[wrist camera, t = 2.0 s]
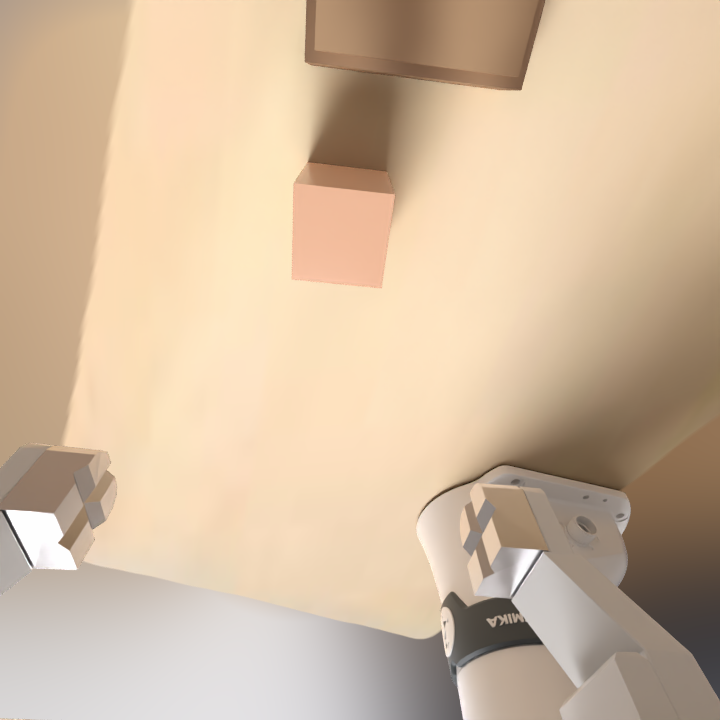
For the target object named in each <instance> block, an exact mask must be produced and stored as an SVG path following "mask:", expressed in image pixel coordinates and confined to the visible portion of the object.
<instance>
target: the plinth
mask: <svg viewBox="0 0 720 720" xmlns="http://www.w3.org/2000/svg"><path fill="white" fill-rule="evenodd" d="M544 3H545V0H307V4H306V39H305V62H306V63H308V64H310V65H314V66H322V67H330V68H337V69H345V70H352V71H360V72H367V73H375V74H383V75H390V76H398V77H405V78H413V79H421V80H428V81H436V82H443V83H451V84H459V85H466V86H474V87H481V88H489V89H497V90H521V89H522V85H523V82H524V78H525V74H526V70H527V67H528V63H529V59H530V56H531V52H532V48H533V44H534V41H535V37H536V33H537V29H538V26H539V22H540V18H541V15H542V11H543V7H544Z"/></svg>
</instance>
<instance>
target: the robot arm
mask: <svg viewBox="0 0 720 720" xmlns="http://www.w3.org/2000/svg"><path fill="white" fill-rule="evenodd" d="M110 464H111V461H110V458H109V455H108V452H106V451H100V450H92V449H83V448H74V447H65V446H56V445H45V444H35V443H28V444H26V445H24V446H22V447H20V448H19V449H18V450H17V451H16V452H15V453H14V454H13V455H12V456H11V457H10V458H9V460H8V461H6V463H5V464H4V465H3V466H2V467H1V468H0V596H1V595H2V594H3V593H5V592H6V591H7V590H9V588H11V587H12V586H14V585H15V584H16V583H17V582H19V581H20V580H21V579H22V578H23V577H25V576H26V575H27V574H29V573H30V572H31V571H32V569H31V568H41V569H68V570H77V569H78V568H79V566H80V564H81V563H82V561H83V559H84V557H85V556H86V554H87V552H88V551H89V549H90V547H91V545H92V544H93V542H94V540H95V538H94V533H93V529H94V528H96V527H97V526H99V525H100V524H101V523H103V522H104V521H106V519H107V517H108V516H109V514H110V512H111V510H112V508H113V505H114V502H115V498H116V495H117V484H116V480H115V477H114V476H113V475H112V474H111V473H110V472H108V471H107V468H108V467H109V465H110ZM630 513H631V506H630V501H629V499H628V497H627V495H626V494H625V493H624V492H622V491H618V490H614V489H610V488H605V487H601V486H596V485H592V484H588V483H583V482H579V481H574V480H570V479H566V478H561V477H557V476H552V475H548V474H544V473H539V472H535V471H530V470H526V469H522V468H517V467H513V466H507V465H504V466H499V467H497V468H495V469H493V470H491V471H490V472H488V473H487V474H485V475H484V476H482V477H481V478H480V479H478V480H476V481H474V482H472V483H469V484H466V485H463V486H460V487H457V488H455V489H452V490H450V491H448V492H446V493H444V494H442V495H441V496H439V497H438V498H436V499H435V500H434V501H432V502H431V503H430V504H429V505H428V506H427V507H426V508H425V509H424V511H423V512H422V513H421V515H420V517H419V519H418V522H417V536H418V539H419V541H420V543H421V545H422V547H423V549H424V551H425V553H426V556H427V558H428V561H429V564H430V566H431V569H432V572H433V575H434V579H435V582H436V586H437V589H438V593H439V597H440V601H441V605H442V606H441V627H442V634H443V640H444V647H445V653H446V656H447V658H448V663H449V668H450V673H451V678H452V681H453V683H454V684H455V685H456V686H457V687H458V690H459V697H460V703H461V709H462V715H463V720H720V701H719V699H718V697H717V696H716V694H715V693H714V691H713V689H712V687H711V686H710V684H709V682H708V680H707V679H706V677H705V676H704V674H703V672H702V670H701V669H700V668H699V665H698V664H697V662H696V660H695V659H694V657H693V655H692V654H691V653H690V652H689V651H688V650H687V649H685V647H683V646H682V645H681V644H680V643H679V642H678V641H677V640H676V639H674V638H673V637H672V636H671V635H670V634H669V633H668V632H667V631H666V630H664V629H663V628H662V627H661V626H660V625H659V624H658V623H657V622H655V621H654V620H653V619H652V618H651V617H650V616H649V615H648V614H647V613H645V612H644V611H643V610H642V609H641V608H640V607H639V606H638V605H637V604H635V603H634V602H633V601H632V600H631V599H630V598H629V597H628V596H627V595H625V594H624V593H623V592H622V591H621V590H620V589H619V588H618V585H619V584H620V582H621V580H622V579H623V577H624V574H625V572H626V569H627V562H628V561H627V552H626V548H625V544H624V541H623V539H622V536H621V534H622V533H623V531H624V529H625V527H626V525H627V523H628V521H629V517H630ZM0 720H30V719H0Z"/></svg>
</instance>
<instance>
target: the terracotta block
mask: <svg viewBox="0 0 720 720" xmlns="http://www.w3.org/2000/svg"><path fill="white" fill-rule="evenodd" d="M394 199H395V193H394V190H393V187H392V185H391V182H390V179H389V176H388V174H387V171H379V170H371V169H362V168H354V167H345V166H336V165H328V164H319V163H311V162H308V163H307V164H306V166H305V167H304V169H303V170H302V172H301V173H300V175H299V176H298V177H297V179H296V180H295V182H294V192H293V243H292V280H303V281H313V282H323V283H333V284H343V285H353V286H363V287H374V288H382V281H383V274H384V267H385V261H386V254H387V247H388V240H389V233H390V226H391V219H392V213H393V206H394Z"/></svg>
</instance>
